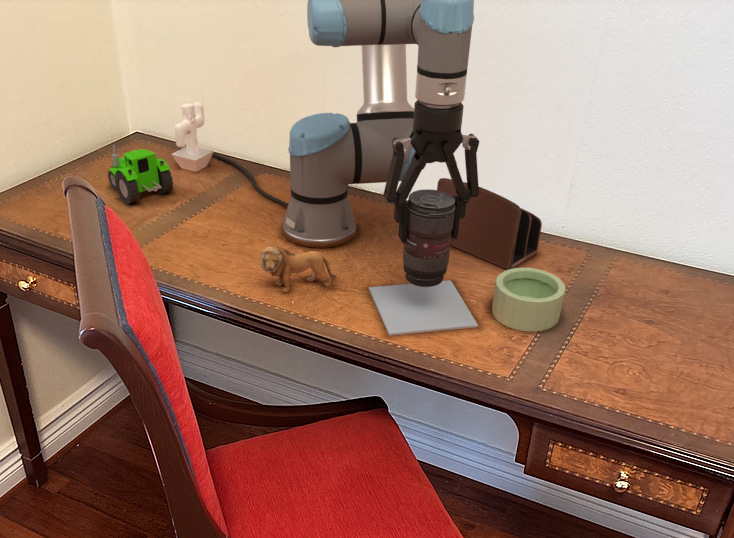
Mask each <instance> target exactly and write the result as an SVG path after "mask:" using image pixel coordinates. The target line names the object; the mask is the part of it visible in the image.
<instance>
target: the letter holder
mask: <svg viewBox="0 0 734 538" xmlns="http://www.w3.org/2000/svg"><path fill="white" fill-rule="evenodd" d="M463 184H464V187H465V188H467V181H463ZM436 190H438V191H442V192H445V193H448V194H450V195H451V196H458V195H457V193H456V190H455V187H454V185H453V182H452V179H451V178H448V177H442V178H441V177H440V178H439V179H438V181H437V186H436ZM469 199H470V200H469V202H468V203H466V212H465V217H464V218H461V219H460V220H459V229H458V238H457V239H453V238H452V237H451V241H450V247H452V248H455V249H457V250H460V251H462V252H465V253H467V254H468V255H471V256H473V257H475V258H478V259H480V260H483V261H485V262H487V263H489V264H492V265H494V266H496V267H499V268H501V269H504V270H505V271H506V270H509V269H513V268H517V267H518V266H520V265H522V264H523V263H525V262H526V261H528V260H530V259H531V258H533V257H535V256H536V255H537V254H538V250H539V244H540V239H541V232H542V227H543V222H542V220H541V218H539V217H538V216H537V215H535V214H534V213H532V212H530V211H528V210H526V209H524V208H521V207H520V206H519V205H518V204H517V203H515V202H513V201H512V200H509V198H506V197H504V196H502V195H500V194H498V193H495V192H494V191H491V190H489V189H487V188H483V187H481V186H479V195H478V196H477V197H471V198H469Z"/></svg>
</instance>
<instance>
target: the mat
mask: <svg viewBox="0 0 734 538" xmlns="http://www.w3.org/2000/svg"><path fill="white" fill-rule="evenodd" d="M368 291H369V293H370V295H371V297H372V300H373V303H374V305H375V307H376V310H377V311H378V314H379V316H380V319H381V320H382V322H383V325H384V328H385V329H386V332H387V334H388V337H393V336H402V335H412V334H424V333H434V332H444V331H455V330H464V329H475V328H478V327H479V324H478V323H477V321H476V319H475V317H474V315H473V314H472V313H471V311H470V309H469V307H468V306H467V304H466V303H465V301H464V299H463V298H462V296H461V294H460V293H459V291H458V289H457V288H456V286H455V284H454V283H453V281H452V280H451V279H449V280H447V279H446V280H443V281H442V282H441V283H440V284H439V285H436V286H433V287H419V286H415V285H413V284H411V283H403V284H391V285H379V286H378V285H377V286H368Z"/></svg>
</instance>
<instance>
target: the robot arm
mask: <svg viewBox="0 0 734 538" xmlns="http://www.w3.org/2000/svg"><path fill="white" fill-rule="evenodd" d="M306 6H307V7H306V21H307V29H308V36H309V40H310V41H311V43H312V44H313V45H315V46H317V47H318V46H319V47H332V48H339V47H354V46H355V47H356V46H357V47H358V46H359V47H361V67H362V68H361V69H362V89H363V92H362V93H363V95H362V96H363V104H362V106H361V107H360V108H359V109H358V110H357V111H356V122H350V119H349V118H348V117H347V116H346V115H344V114H342V113H333V112H322V113H321V112H320V113H315V114H311V115H308V116H305V117H302V118H300V119H299V120H298V121H296V122H295V123H294V124H293V125H292V126H291V128H290V132H289V140H288V141H289V142H288V149H287V150H288V154H289V177H290V178H289V180H290V181H289V182H290V183H289V184H290V197H289V201H288V202H286V201H284V200H281V199H279V198H277V197H275V196H273V195H271V194H269V193H267V192H266V191H264V190H263V189H262V188H260V186H258V184H257V182H256V179H255V178H254V177H253V175H252V174H251V173H250V172H249V171H248V170H247V169H246V168H245V167H243V166H242V165H241V164H239V163H237V162H235V161H234V160H232V159H230V158H228V157H225V156H222V155H220V154H218V153H215V152H213V154H212V156H211V157H214V158H217V159H219V160H221V161H224V162H226V163H228V164H230V165H233V166H234V167H236V168H237V169H238V170H240V171H241V172H242V173H243V174H244V175H245V176H247V178H248V180H249V181H250V182H251V184H252V186H253V188H254V189H255V190H256V192H258V193H259V194H260V195H262V196H263V197H265V198H267V199H269V200H270V201H273V202H275V203H277V204H279V205H282V206H284V207H286V210H285V214H284V216H283V220H282V233H283V236H284V237H285V238H286V239H287V240H288V241H289V242H291V243H294V244H296V245H299V246H302V247H307V248H315V249H319V248H320V249H327V248H334V247H339V246H342V245H344V244H346V243H348V242H350V241H351V240H352V239H353V238H354V237H355V236H356V234H357V222H356V218H355V216H354V212H353V209H352V205H351V202H350V200H349V185H361V184H362V185H363V184H380V183H382V184H383V183H385V186H384V190H383V196H384V198H385V199H386V202H387V203H389V204H394V206H393V219H394V222H395V223H396V224H398V230H397V232H398V233H397V236H398V238H399V240H400V242H401V244H404V243H406V242H407V227H408V213H409V206H408V204H407V201H408V199H409V195H410V194H411V193H412V190H413V189H414V186H415V184H416V182H417V181H418V178H419V176H420V174H421V172H422V171H423V170H424V169H425V168H426V166H427V164H434V163H441V164H442V163H445V165H446V168H447V171H448V174H449V176H450V179H452V182H453V185H454V187H455V190H456V193H457V195H458V196H452V197H453V198H454V200H455V215H454V224H453V229H452V232H451V237H452V238H453V239H457V238H458V229H459V220H460V219H461V218H464V217H465V212H466V203H468V202H469V200H470V199H469V198H471V197H477V196H478V195H479V187H480V186H479V173H478V171H479V169H478V155H477V152H478V150H479V149H478V148H479V146H480V140H479V139H478V137H477V136H476V135H475V134H474V133H469V134H467V135H466V134H463V132H462V126H463V116H464V104H463V103H462V102H464V100H465V97H466V85H467V78H468V77H467V76H468V66H469V57H470V49H471V41H472V40H471V39H472V31H473V25H474V20H475V14H474V12H475V11H474V9H475V8H474V7H475V0H307V5H306ZM407 45H417V46H418V47H417V65H416V76H415V78H416V79H415V90H414V91H415V92H414V98H415V99H416V101H415V102H414V104H413V105H414V107H413V106H412V105H411V104H410V103H409V101H408V79H407V78H408V76H407V75H408V73H407ZM461 144H462V148H463V149H464V162H465V174H466V183H467V188H465V187H464V184H463V182H464V181H463V179H462V176H461V173H460V169H459V167H458V162H457V159H456V157H455V154H454V153H455V152H456V151H457V149H459V147H460V146H461ZM399 182H400V183H399Z"/></svg>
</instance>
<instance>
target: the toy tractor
mask: <svg viewBox="0 0 734 538" xmlns="http://www.w3.org/2000/svg"><path fill="white" fill-rule="evenodd" d="M112 152H113V153H112V154H111V159H112V160H111V164H110V168H108V172H107V177H108V181H109V183H110V186H111V187H112V188H113V189H114V190H116V192H117V194H118V196H119V198H120V199H121V201H122V202H123V203H124V204H125V205H131V204H135V203H137V202H138V201H139V200H140V193H143V192H146V191H147V192H149V193H151V192H152V191H153V192H155V193H158V194H159V195H163V194H167V193H170V192H172V191H173V188H174V181H173V176H172V172H171V168H170V167H169V164H168V163H167V161H166V160H165V159H163V158H161V157H158V158H157V156H156V153H155V152H153V151H151V150H149V149H144V148H140V149H135V150H132V151H127V152H124V153H123V156H122V157H120V156H119V154H118V153H117V151H116V146H115V143H113V144H112Z"/></svg>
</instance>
